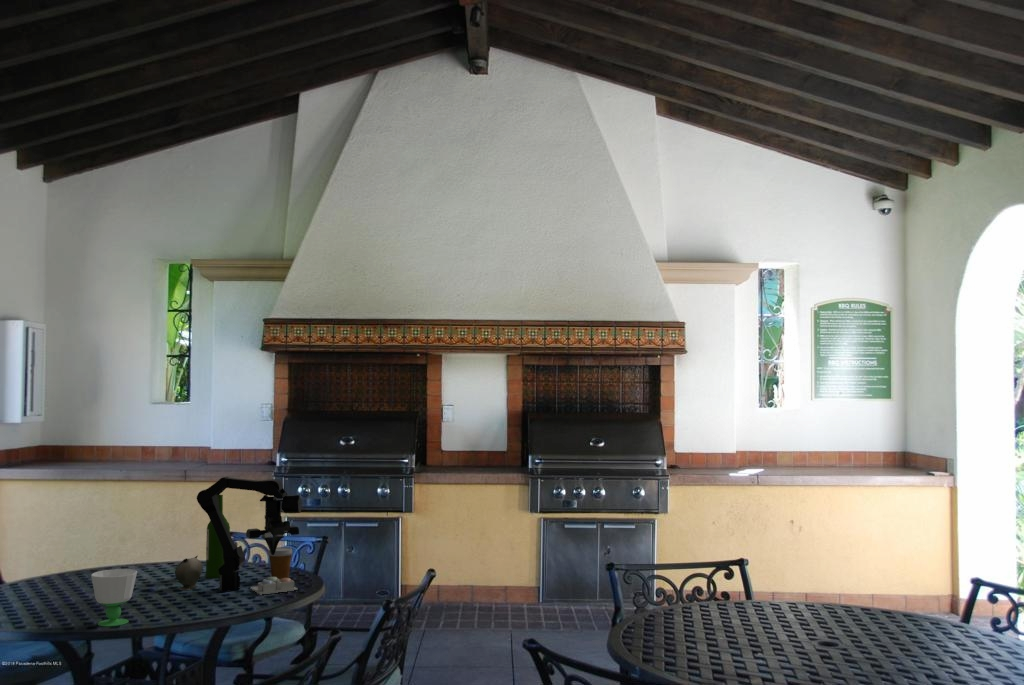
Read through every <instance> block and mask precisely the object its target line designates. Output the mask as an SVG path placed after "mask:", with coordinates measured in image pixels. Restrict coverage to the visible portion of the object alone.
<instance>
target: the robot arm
mask: <svg viewBox="0 0 1024 685" xmlns="http://www.w3.org/2000/svg"><path fill="white" fill-rule="evenodd" d="M283 485H284V484H283V482H282V481H281V480H280V479H277V478H273V479H262V480H258V479H248V478H247V479H246V478H237V477H230V476H224V477H221V478H219V479H218V481H216V482H215V483H213V484H212V485H210V486H209V487H208V488H206V489H202V490H200V491H199V492H198V493H197V495H196V501H197V503H198V505H199V506H200V507H201V509H202V510H203V511H204V512H205V513H206V514H207V516H208V518H209V522H210V521H211V523H212V525H213V528H214V530H215V532H216V534H217V537H218V539H219V541H220V544H221V546H222V549H223V559H224V564H223V565H222V566H221V567H220V568H219V569H218V571H219V574H220V578H219V587H217V589H218V590H220V591H221V592H224V593H225V592H229V591H231V590H232V591H238V590H237V589H240V590H241V576H240V575H239V574H240V573H239V572H240V571H239V570H240V568H241V566H244V564H245V561H246V557H245V556H246V553H245V552H244V550H243V547H242V545H239V546H237V544H235V542H234V540H233V538H232V534H231V532H230V533H229V530H228V528H227V526H226V523H225V521H224V519H223V516H222V514H221V512H220V509H219V499H218V495H222V493H223V492H224V491H225V490H226V489H235V490H243V491H244V490H245V491H252V492H253V491H254V492H257V493H260V494H263V497H262V498H261V499H259V502H264V503H265V507H264V508H265V509H264V510H265V513H264V514H265V515H264V520H265V521H264V529H262V530H261V529H260V528H248V529H247V530H245V537H246V538H249V539H258V538H260V537H261V539H264V540H265V543H266V545H267V547H268V551H269V550H270V553H271V555H274V554H275V551H276V548H277V547H278V545H279V543H280V542H281V540H282V539H284V538H285V536H284V535H285V534H290V535H291V536H295V535H300V528H299V527H298V526H297V525H291V521H289V520H285V521H283V517H282V512H284V514H300V513H301V511H302V508H303V503H302V498H301V494H293V495H291V494H288V493H287V491H286V490H285V489H284V486H283ZM232 591H231V592H232Z"/></svg>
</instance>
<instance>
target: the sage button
mask: <svg viewBox="0 0 1024 685" xmlns="http://www.w3.org/2000/svg"><path fill="white" fill-rule="evenodd" d="M266 579H267V580H272V581H275V580H277V577H272V576H268V577H266Z"/></svg>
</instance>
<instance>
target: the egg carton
mask: <svg viewBox="0 0 1024 685" xmlns="http://www.w3.org/2000/svg"><path fill="white" fill-rule="evenodd" d="M264 580H267V578H264V579H262V581H264ZM262 581H260V582H257V586H250V589H252V590H253V591H255V592H257V593H259V594H260V595H262V594H270V593H278V592H287V591H294V590H298V589H299V588H298V587H295V585H296V584H295V581H294V580H293V579H291V578H290V582H280V579H278V578H277V580H275V581H272V584H265V585H263V584H262ZM250 589H249V590H250ZM253 591H252V592H253ZM255 592H254V593H255ZM260 595H259V596H260Z"/></svg>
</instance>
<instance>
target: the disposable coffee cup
mask: <svg viewBox="0 0 1024 685" xmlns="http://www.w3.org/2000/svg"><path fill="white" fill-rule="evenodd" d="M293 552H294V551H293V549H292V548H291V547H289V546H287V547H286V546H285V547H284V546H281V547H280V546H279V547H278V546H277V548H276V551H275V554H274V555H271V553H270V550H269V549H268V552H267V553H268V556H269V565H270V566H269V567H270V574H271V576H270V577H277V578H278V579H282V578H290V577H289V576H290V568H291V563H292V561H291V560H292V555H293Z"/></svg>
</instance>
